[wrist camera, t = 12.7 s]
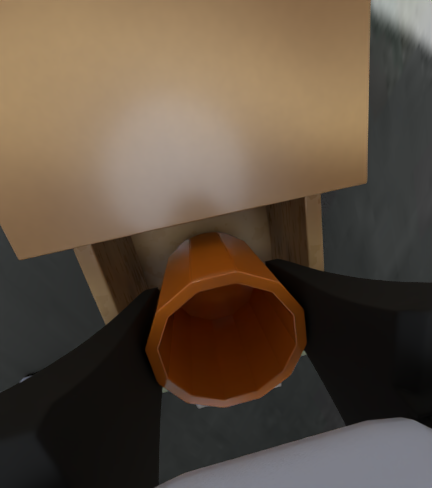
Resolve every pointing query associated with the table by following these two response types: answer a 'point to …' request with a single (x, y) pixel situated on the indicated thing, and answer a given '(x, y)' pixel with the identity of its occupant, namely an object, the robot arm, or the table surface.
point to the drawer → (168, 239)
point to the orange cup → (222, 324)
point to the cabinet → (173, 112)
